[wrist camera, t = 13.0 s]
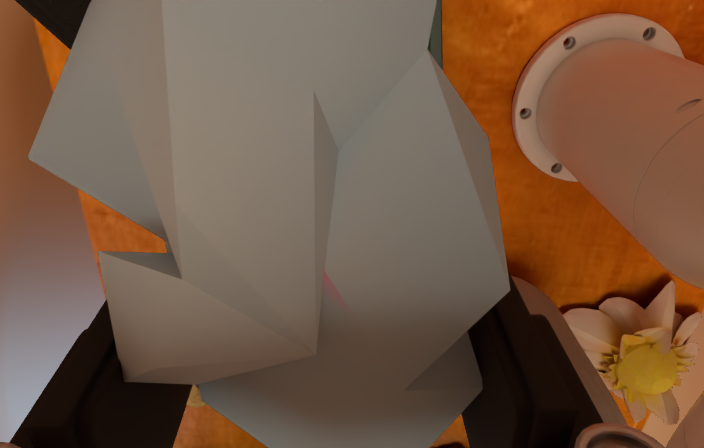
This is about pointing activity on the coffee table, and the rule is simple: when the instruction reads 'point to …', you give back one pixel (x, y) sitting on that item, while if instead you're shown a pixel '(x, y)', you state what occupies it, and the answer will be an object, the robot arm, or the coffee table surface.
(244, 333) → the faceted ice chunk
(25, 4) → the camera
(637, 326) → the decorative flower
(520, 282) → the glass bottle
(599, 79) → the robot arm
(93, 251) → the coffee table surface
